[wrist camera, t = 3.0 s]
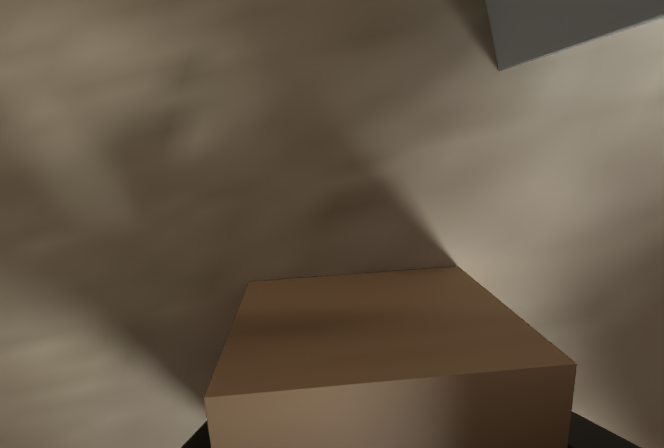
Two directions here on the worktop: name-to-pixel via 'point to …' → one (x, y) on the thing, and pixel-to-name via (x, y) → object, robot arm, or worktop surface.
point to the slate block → (560, 24)
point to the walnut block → (386, 367)
